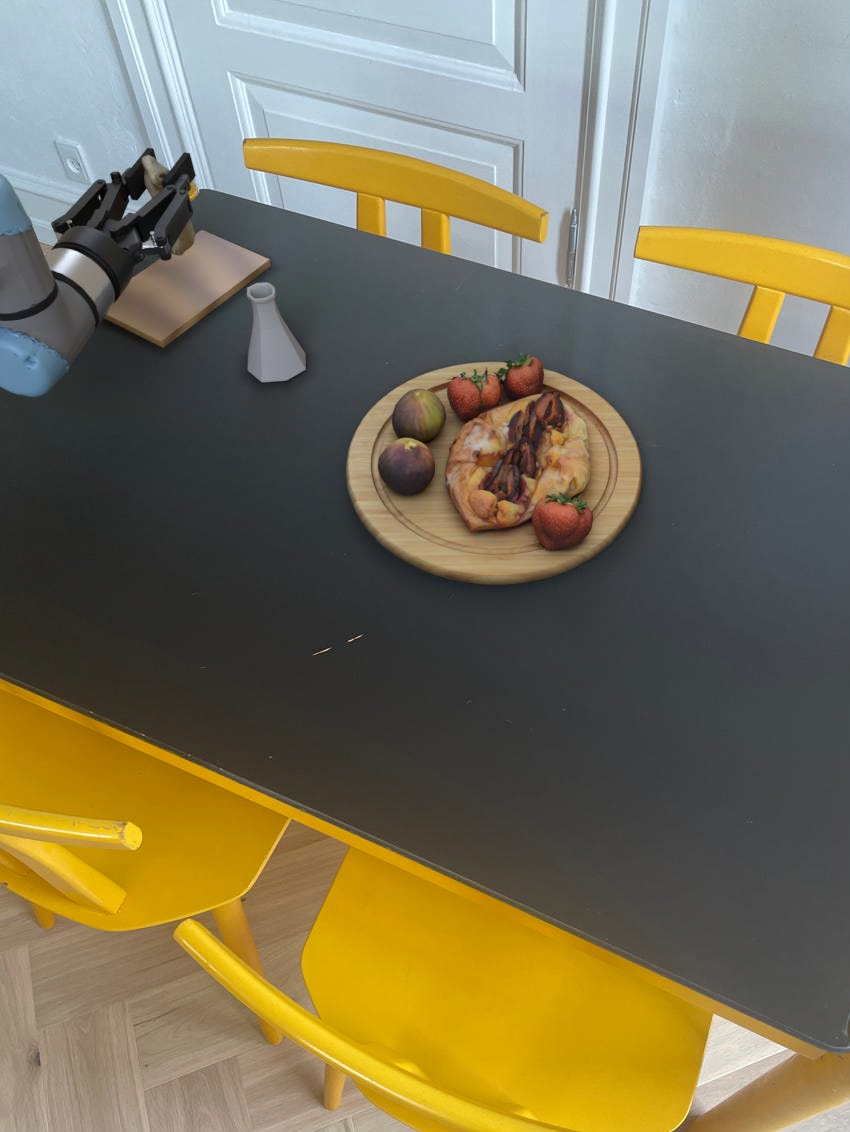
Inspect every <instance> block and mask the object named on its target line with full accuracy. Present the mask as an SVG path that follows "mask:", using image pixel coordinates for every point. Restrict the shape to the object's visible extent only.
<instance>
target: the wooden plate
mask: <svg viewBox="0 0 850 1132" xmlns="http://www.w3.org/2000/svg"><path fill="white" fill-rule="evenodd" d="M518 357H520V358H519V359H515V360H513V361H512V360H511V359H510V360H503V361H482V362H471V363H470V362H469V363H462V364H457V365H451V366H448V367H447V366H445V367H443V368H438V369H435V370H432V371H429V372H426V373H424V374H421V375H418V376H416V377H414V378H411V379H410V380H408V381H406V382H404V383H402V384H400V385H399V386H397V387H395V388H393V389H392V390H391V391H389V392H388V393H387V394H386V395H383V397H382V398H380V400H378V401H377V402H376V403H375V404H374V405H373V406H372V407H371V408H370V409H369V411H367V413H365V415H364V416H363V417H362V419H361V421H360V422H359V424H358V425H357V428H356V429H355V431H354V433H353V435H352V438H351V441H350V443H349V447H348V451H347V455H346V459H345V460H346V461H345V479H346V480H345V482H346V489H347V492H348V496H349V499H350V502H351V504H352V506H353V509H354V511H355V513H356V515H357V517H358V518H359V520H360V522H361V523H362V525H363V526H364V528H365V529H366V530H367V531H368V533H369V534H370V535H371V537H372V538H373V539H374V540H375V541H376V542H377V543H378V544H380V546H381V547H383V548H384V549H386V551H388V552H389V553H391V554H393V555H394V556H395V557H397V558H399V559H401V560H402V561H404V562H405V563H407V564H408V565H411V566H413V567H415V568H416V569H419V570H421V571H423V572H425V573H428V574H431V575H434V576H436V577H440V578H443V579H448V580H450V581H456V582H460V583H466V584H475V585H481V586H482V585H487V586H499V585H501V586H504V585H518V584H525V583H532V582H536V581H541V580H545V579H550V578H553V577H555V576H557V575H561V574H564V573H567V572H568V571H571V570H573V569H575V568H578V567H579V566H581V565H583V564H585V563H586V562H588V561H590V560H592V559H593V558H594V557H596V556H597V555H599V554H600V553H602V551H605V550H606V549H607V548H608V547H609V546H610V545H611V544H612V543H613V542H614V541H615V540H616V539H617V538H618V537H619V536H620V535H621V533H622V532H623V531H624V529H625V528H626V526H627V525H628V523H629V522H630V521H631V519H632V517H633V515H634V513H635V511H636V508H637V507H638V503H639V501H640V496H641V491H642V486H643V473H644V472H643V471H644V470H643V461H642V456H641V452H640V449H639V446H638V443H637V440H636V438H635V436H634V434H633V432H632V431H631V428H630V427H629V425H628V424H627V423H626V421H625V420H624V419H623V417H622V416H621V415H620V413H619V412H618V411H617V410H616V409H615V408H614V406H613V405H611V404H610V403H609V402H608V401H607V400H606V399H605V398H603V397H602V396H601V395H599V394H598V393H597V392H595V391H594V390H592V389H591V388H589V387H588V386H586V385H584V384H582V383H581V382H578V381H577V380H574V379H572V378H570V377H568V376H566V375H563V374H561V373H559V372H557V371H553V370H550V369H546V368H544V366H543V363H542V361H541V360H540V359H538V358H537V357H535V356H531V353H529V354H527V353H526V354H524V351H520V353H519V355H518Z"/></svg>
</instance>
